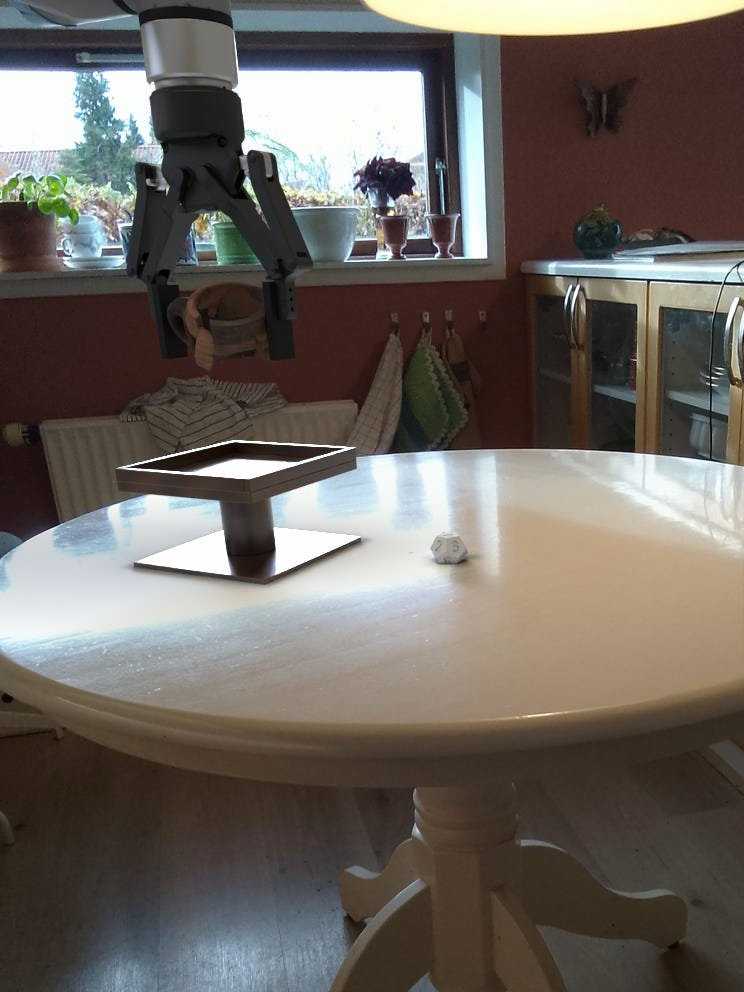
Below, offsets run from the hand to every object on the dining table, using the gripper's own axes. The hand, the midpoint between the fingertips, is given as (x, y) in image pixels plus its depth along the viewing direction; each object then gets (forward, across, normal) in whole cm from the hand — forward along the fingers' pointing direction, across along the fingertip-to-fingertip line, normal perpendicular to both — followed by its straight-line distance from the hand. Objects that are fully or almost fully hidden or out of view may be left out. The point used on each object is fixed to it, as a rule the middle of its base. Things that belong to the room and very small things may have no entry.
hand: (227, 359), depth 85 cm
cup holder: (+19, +1, -1) cm, 19 cm away
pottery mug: (+1, 0, 0) cm, 1 cm away
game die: (+20, -19, -6) cm, 28 cm away
